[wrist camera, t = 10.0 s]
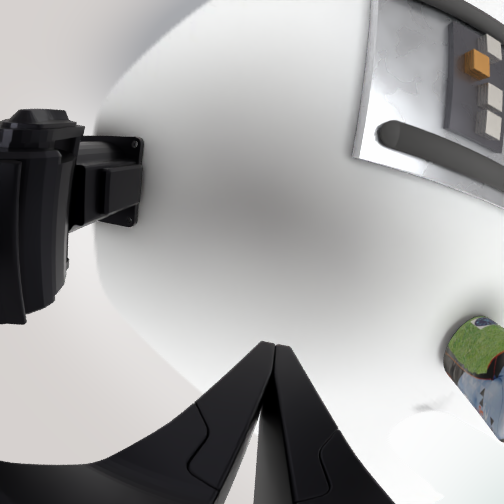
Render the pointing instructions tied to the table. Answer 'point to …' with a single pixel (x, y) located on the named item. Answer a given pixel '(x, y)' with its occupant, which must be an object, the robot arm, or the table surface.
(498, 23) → the dark grey rounded bar
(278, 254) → the table surface
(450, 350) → the beverage can
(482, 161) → the dark grey rounded rod
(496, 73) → the breaker panel
